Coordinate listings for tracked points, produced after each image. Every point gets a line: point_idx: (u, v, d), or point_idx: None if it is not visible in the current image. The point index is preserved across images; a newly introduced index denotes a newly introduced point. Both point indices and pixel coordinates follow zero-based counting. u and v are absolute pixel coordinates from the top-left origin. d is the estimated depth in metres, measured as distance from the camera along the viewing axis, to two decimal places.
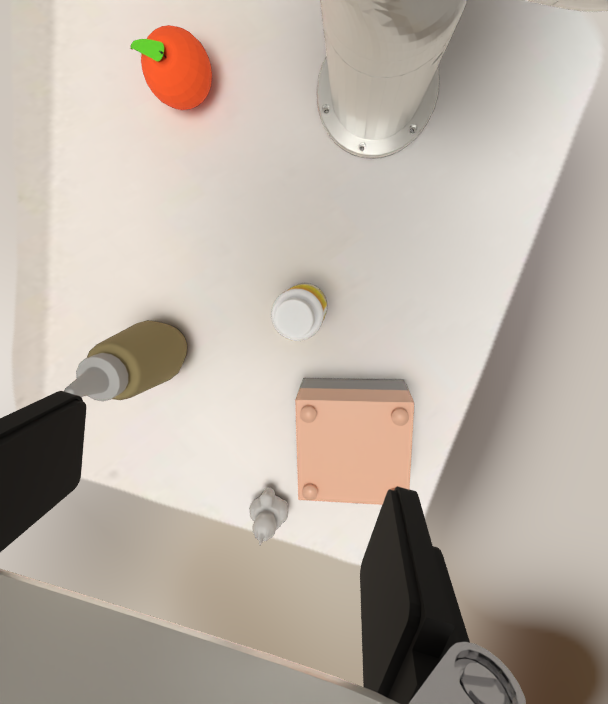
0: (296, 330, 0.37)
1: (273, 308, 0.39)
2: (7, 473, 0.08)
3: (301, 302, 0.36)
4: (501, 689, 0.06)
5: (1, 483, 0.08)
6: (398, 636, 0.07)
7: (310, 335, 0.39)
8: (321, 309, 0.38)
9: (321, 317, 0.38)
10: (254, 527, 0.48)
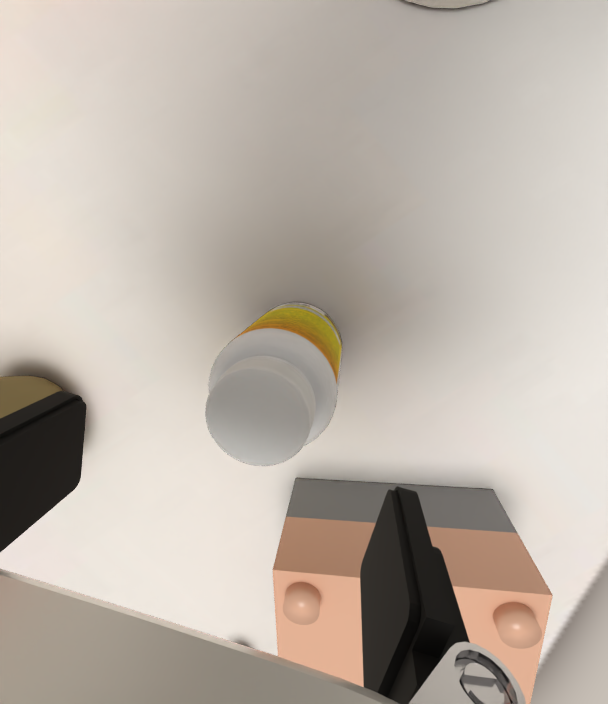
0: (267, 448, 0.14)
1: (212, 377, 0.15)
2: (7, 473, 0.08)
3: (277, 376, 0.13)
4: (501, 689, 0.06)
5: (1, 483, 0.08)
6: (398, 636, 0.07)
7: (305, 443, 0.16)
8: (332, 381, 0.15)
9: (332, 401, 0.15)
10: None
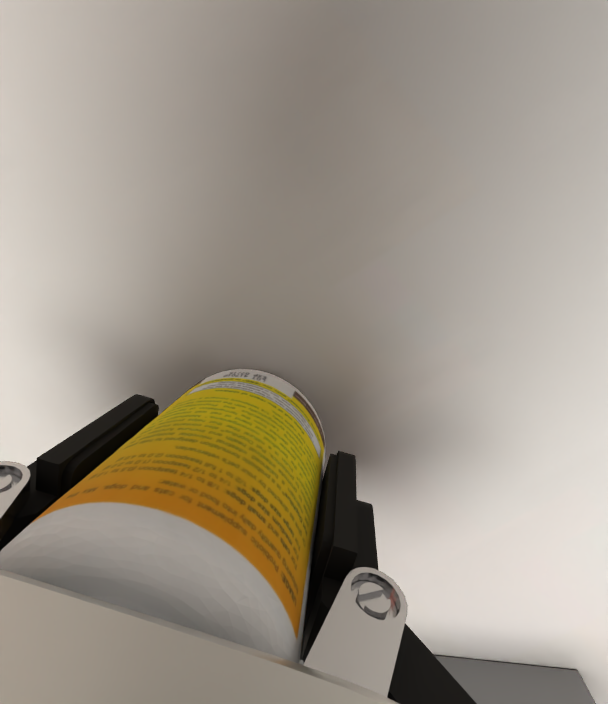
0: None
1: None
2: None
3: None
4: (387, 596, 0.07)
5: None
6: (314, 566, 0.08)
7: None
8: (283, 651, 0.06)
9: None
10: None
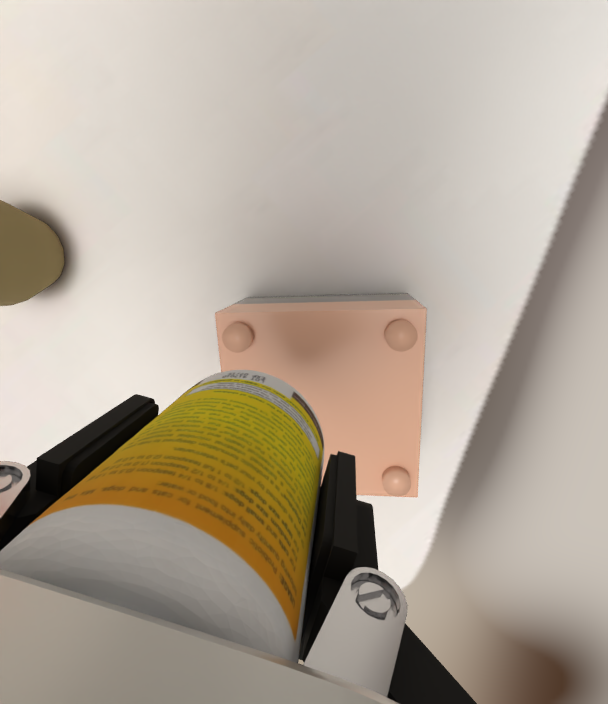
0: None
1: None
2: None
3: None
4: (387, 596, 0.07)
5: None
6: (314, 566, 0.08)
7: None
8: (282, 653, 0.06)
9: None
10: None
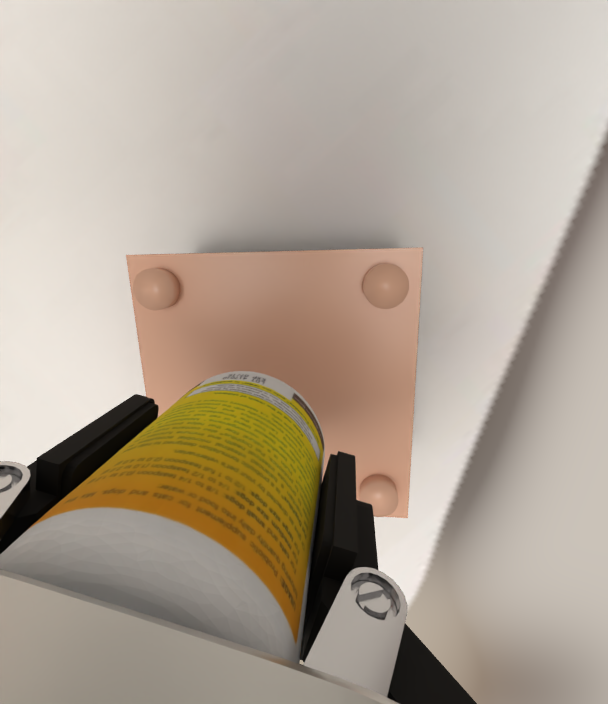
0: None
1: None
2: None
3: None
4: (387, 596, 0.07)
5: None
6: (314, 566, 0.08)
7: None
8: (283, 657, 0.06)
9: None
10: None
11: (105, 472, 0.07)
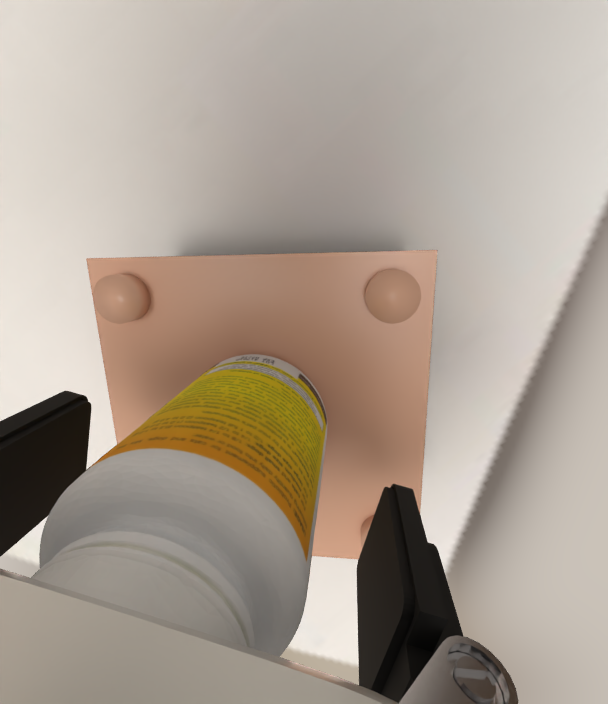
0: None
1: (40, 551, 0.07)
2: (14, 472, 0.08)
3: None
4: (493, 681, 0.06)
5: (8, 482, 0.08)
6: (392, 630, 0.07)
7: None
8: (296, 566, 0.07)
9: (296, 609, 0.07)
10: None
11: (146, 428, 0.08)
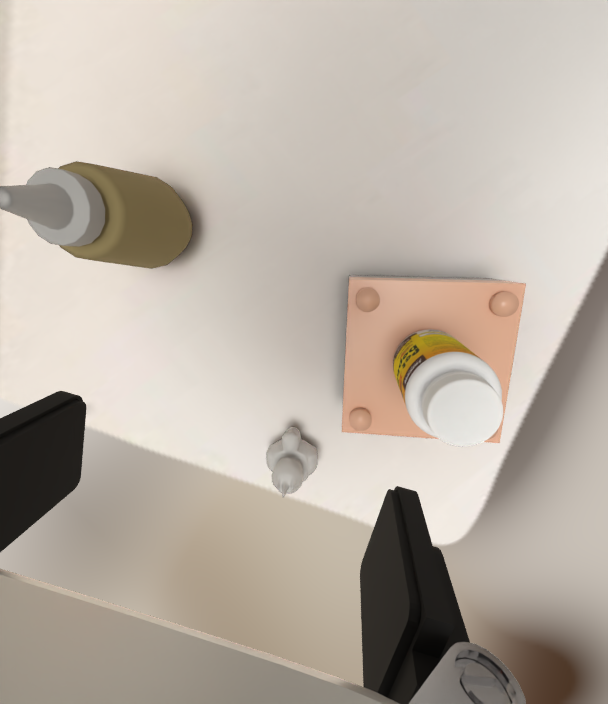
0: (468, 434, 0.20)
1: (414, 384, 0.22)
2: (7, 473, 0.08)
3: (485, 385, 0.19)
4: (501, 689, 0.06)
5: (1, 483, 0.08)
6: (398, 636, 0.07)
7: None
8: None
9: None
10: (275, 474, 0.35)
11: (435, 349, 0.23)
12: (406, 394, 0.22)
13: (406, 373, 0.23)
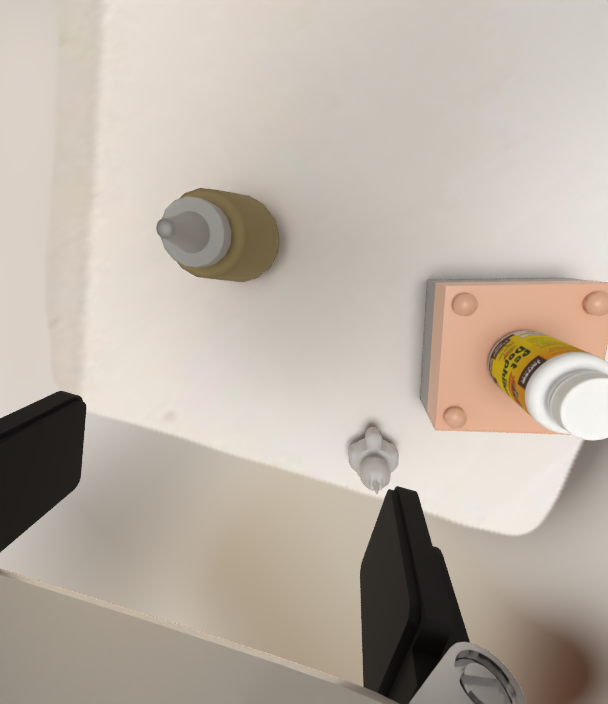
0: (599, 428, 0.22)
1: (537, 384, 0.23)
2: (7, 473, 0.08)
3: None
4: (501, 689, 0.06)
5: (1, 483, 0.08)
6: (398, 636, 0.07)
7: None
8: None
9: None
10: (364, 472, 0.37)
11: (550, 350, 0.24)
12: (528, 393, 0.24)
13: (522, 373, 0.25)
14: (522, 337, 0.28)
